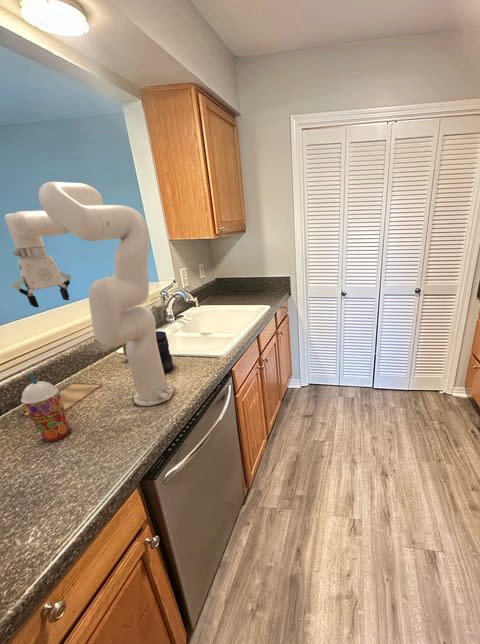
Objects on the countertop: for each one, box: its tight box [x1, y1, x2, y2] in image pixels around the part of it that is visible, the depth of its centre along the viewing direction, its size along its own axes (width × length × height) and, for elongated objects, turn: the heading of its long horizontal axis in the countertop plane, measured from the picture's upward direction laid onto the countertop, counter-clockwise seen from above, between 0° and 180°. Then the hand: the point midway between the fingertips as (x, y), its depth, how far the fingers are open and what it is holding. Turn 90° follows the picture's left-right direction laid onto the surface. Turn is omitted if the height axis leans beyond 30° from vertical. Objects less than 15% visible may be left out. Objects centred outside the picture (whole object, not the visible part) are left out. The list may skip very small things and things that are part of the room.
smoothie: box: [20, 373, 71, 442], centre depth 89 cm, size 8×8×20 cm
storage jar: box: [156, 330, 174, 375], centre depth 127 cm, size 10×10×15 cm
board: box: [23, 383, 101, 416], centre depth 112 cm, size 20×12×1 cm, turn 171°
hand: (51, 303), depth 114 cm, fingers open, 9 cm apart
